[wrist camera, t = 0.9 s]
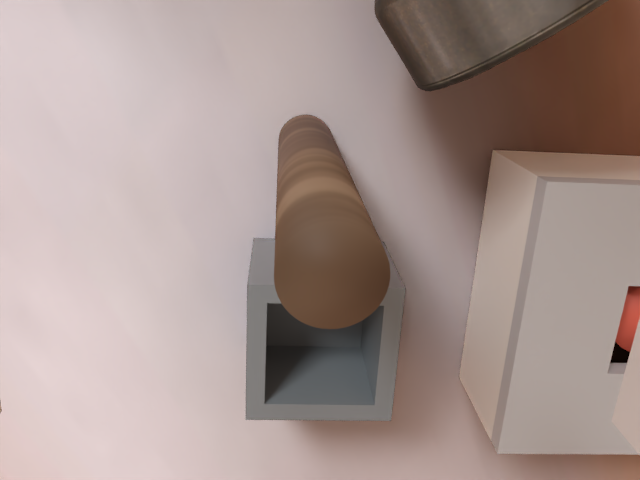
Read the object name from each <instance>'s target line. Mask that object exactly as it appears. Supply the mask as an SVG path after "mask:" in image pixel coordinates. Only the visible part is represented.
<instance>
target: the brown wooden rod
mask: <svg viewBox="0 0 640 480" xmlns="http://www.w3.org/2000/svg"><path fill="white" fill-rule="evenodd" d="M389 282H390V264H389V260H388V257H387V255H386V252H385V250H384V248H383V246H382V243H381V241H380V239H379V237H378V235H377V232H376V230H375V228H374V226H373V224H372V221H371V219H370V217H369V215H368V213H367V211H366V208H365V206H364V204H363V202H362V200H361V197H360V195H359V193H358V191H357V189H356V187H355V184H354V182H353V180H352V178H351V176H350V173H349V171H348V169H347V167H346V165H345V162H344V160H343V158H342V156H341V154H340V152H339V149H338V147H337V145H336V143H335V141H334V138H333V136H332V134H331V132H330V130H329V128H328V126H327V125H326V124H325V123H324V122H323V121H322V120H321V119H319V118H317V117H315V116H311V115H300V116H296V117H294V118H292V119H290V120H289V121H288V122H287V123H286V124H285V125H284V126H283V128H282V130H281V132H280V135H279V145H278V174H277V202H276V231H275V260H274V284H275V289H276V292H277V295H278V298H279V300H280V301H281V303H282V305H283V306H284V308H285V309H286V310H287V311H288V312H289V313H290V314H291V315H292V316H293V317H295V318H296V319H298V320H299V321H301V322H303V323H305V324H307V325H310V326H313V327H316V328H321V329H339V328H344V327H348V326H351V325H354V324H356V323H358V322H360V321H362V320H364V319H365V318H367V317H368V316H369V315H371V314H372V313H373V312H374V311H375V310H376V309H377V308H378V306H379V305H380V304H381V302H382V301H383V299H384V297H385V295H386V293H387V290H388V287H389Z"/></svg>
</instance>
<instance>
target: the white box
mask: <svg viewBox="0 0 640 480" xmlns="http://www.w3.org/2000/svg"><path fill="white" fill-rule="evenodd" d="M629 286H640V156H626V155H602V154H579V153H555V152H531V151H507V150H493V151H492V158H491V165H490V171H489V178H488V185H487V191H486V198H485V205H484V212H483V218H482V225H481V232H480V239H479V245H478V252H477V259H476V265H475V272H474V279H473V286H472V292H471V299H470V306H469V312H468V319H467V326H466V333H465V339H464V346H463V353H462V359H461V366H460V373H459V379H460V381H461V383H462V385H463V387H464V389H465V391H466V393H467V394H468V396H469V398H470V400H471V402H472V404H473V406H474V408H475V410H476V412H477V414H478V416H479V418H480V420H481V422H482V424H483V426H484V428H485V430H486V432H487V434H488V436H489V438H490V440H491V442H492V444H493V446H494V448H495V450H496V452H497V454H629V455H639V454H638V453H637V452H636V450H635V449H634V448H633V447H632V446H631V444H630V443H629V442H628V441H627V439H626V438H625V437H624V436H623V435H622V433H621V432H620V431H619V430H618V428H617V427H616V426H615V425H614V424H613V422H612V417H613V413H614V410H615V406H616V402H617V399H618V395H619V391H620V388H621V384H622V380H623V377H624V373H625V369H626V366H627V363H613V362H610V361H611V357H612V353H613V349H614V345H615V340H616V336H617V332H618V328H619V324H620V320H621V316H622V312H623V307H624V303H625V299H626V295H627V291H628V287H629Z"/></svg>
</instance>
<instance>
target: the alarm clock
mask: <svg viewBox="0 0 640 480" xmlns="http://www.w3.org/2000/svg"><path fill="white" fill-rule="evenodd" d="M607 1H608V0H375V15H376V17H377V19H378V21H379V23H380V25H381V26H382V28H383V30H384V31H385V33H386V35H387V36H388V38H389V40H390V41H391V43H392V45H393V46H394V48H395V50H396V51H397V53H398V55H399V56H400V58H401V60H402V61H403V63H404V65H405V66H406V68H407V69H408V71H409V73H410V75H411V76H412V78H413V80H414V81H415V83H416V85H417V86H418V87H419V88H420V89H422V90H425V91H432V90H437V89H441V88H444V87H448V86H450V85H453V84H456V83H459V82H461V81H464V80H466V79H469V78H472V77H474V76H476V75H478V74H480V73H482V72H484V71H486V70H489V69H491V68H492V67H494V66H495V65H497V64H499V63H501V62H504V61H506V60H507V59H509V58H511V57H513V56H515V55H517V54H518V53H520V52H523V51H525V50H527V49H528V48H530V47H532V46H535V45H537V44H538V43H539V42H541V41H543V40H545V39H547V38H549V37H551V36H552V35H554V34H556V33H557V32H559V31H561V30H562V29H564V28H565V27H567V26H569V25H571V24H573V23H574V22H576V21H577V20H579V19H580V18H582V17H583V16H585V15H587V14H588V13H590V12H591V11H593V10H594V9H596V8H597V7H599V6H601V5H602V4H604V3H605V2H607Z"/></svg>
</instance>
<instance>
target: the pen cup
mask: <svg viewBox="0 0 640 480" xmlns="http://www.w3.org/2000/svg"><path fill="white" fill-rule="evenodd" d="M381 243H382V246H383V248H384V250H385V252H386V255H387V257H388V260H389V264H390V282H389V287H388V290H387V293H386V295H385V297H384V299H383V301H382V302H381V304H380V305H379V306H378V308H377V309H376V310H375V311H374V312H373V313H372V314H371V315H369V316H368V317H367V318H365V319H364V320H362V321H360V322H358V323H356V324H354V325H351V326H348V327H344V328H339V329H321V328H316V327H313V326H310V325H307V324H305V323H303V322H301V321H299V320H298V319H296V318H295V317H293V316H292V315H291V314H290V313H289V312H288V311H287V310H286V309H285V308H284V306H283V305H282V303H281V301H280V300H279V298H278V295H277V292H276V289H275V284H274V260H275V239H264V238H254V240H253V247H252V255H251V262H250V269H249V277H248V284H247V351H246V420H347V421H391V417H392V408H393V398H394V389H395V380H396V371H397V362H398V353H399V343H400V334H401V325H402V316H403V307H404V297H405V286H404V284H403V282H402V280H401V278H400V276H399V274H398V271H397V269H396V267H395V265H394V263H393V261H392V259H391V257H390V254H389V252H388V250H387V248H386V246H385V244H384V242H381Z"/></svg>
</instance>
